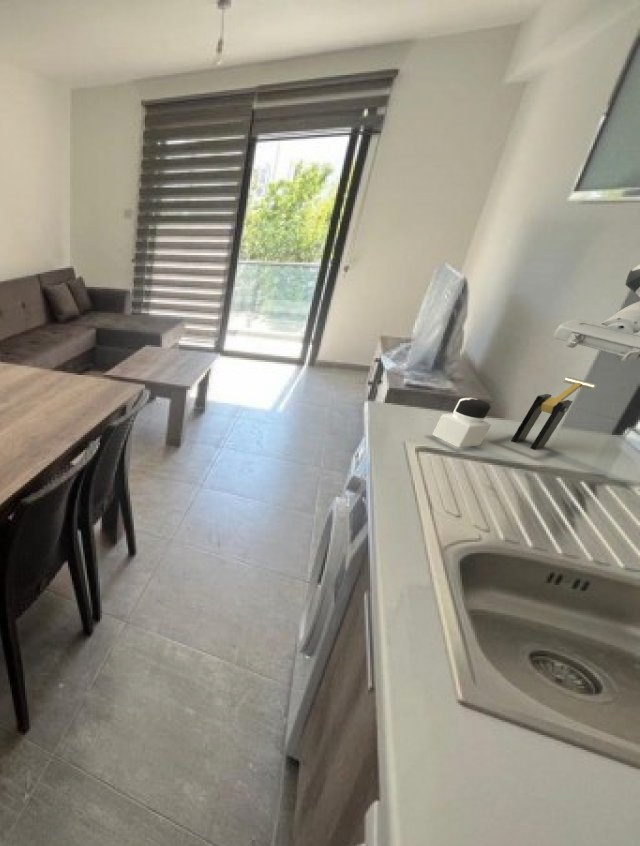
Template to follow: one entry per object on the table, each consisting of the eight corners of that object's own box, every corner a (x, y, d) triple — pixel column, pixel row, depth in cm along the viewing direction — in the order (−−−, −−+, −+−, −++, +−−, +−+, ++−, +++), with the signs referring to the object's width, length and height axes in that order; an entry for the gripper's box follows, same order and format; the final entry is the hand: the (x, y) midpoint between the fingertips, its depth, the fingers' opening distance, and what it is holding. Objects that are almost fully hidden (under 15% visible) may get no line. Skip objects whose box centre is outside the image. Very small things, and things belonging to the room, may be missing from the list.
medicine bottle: (477, 449, 119) (502, 405, 114) (456, 452, 118) (480, 407, 112) (450, 436, 125) (472, 394, 120) (429, 438, 124) (450, 395, 118)
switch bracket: (513, 438, 127) (542, 389, 120) (556, 453, 120) (589, 403, 113) (492, 443, 123) (521, 394, 116) (535, 460, 116) (568, 408, 109)
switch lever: (566, 381, 120) (569, 374, 118) (595, 389, 115) (598, 381, 114) (531, 407, 118) (534, 400, 117) (559, 416, 114) (562, 409, 112)
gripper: (576, 309, 129) (549, 326, 125) (686, 333, 115) (661, 353, 110) (563, 330, 133) (537, 348, 129) (668, 356, 119) (643, 377, 114)
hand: (595, 350), depth 120 cm, fingers open, 8 cm apart
